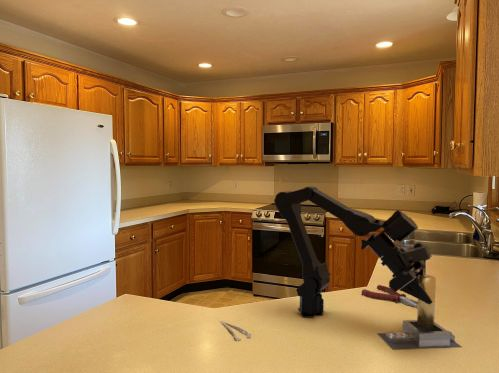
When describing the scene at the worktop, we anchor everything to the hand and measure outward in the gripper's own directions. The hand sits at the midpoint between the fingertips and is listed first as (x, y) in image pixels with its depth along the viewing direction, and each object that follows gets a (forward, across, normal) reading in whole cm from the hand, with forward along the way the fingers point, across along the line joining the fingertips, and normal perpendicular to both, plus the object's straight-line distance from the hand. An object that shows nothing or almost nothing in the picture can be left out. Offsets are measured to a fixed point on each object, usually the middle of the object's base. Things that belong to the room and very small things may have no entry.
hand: (432, 300), depth 92 cm
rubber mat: (+6, -1, +10) cm, 11 cm away
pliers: (-3, +28, +20) cm, 34 cm away
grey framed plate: (+6, -1, +9) cm, 11 cm away
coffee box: (-1, +46, +17) cm, 50 cm away
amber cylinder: (+4, 0, +6) cm, 7 cm away
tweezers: (-26, -22, +43) cm, 55 cm away
